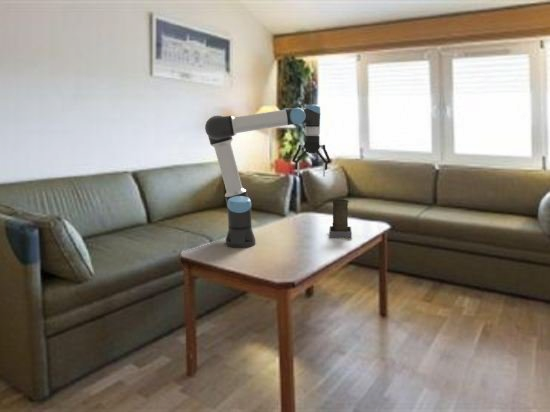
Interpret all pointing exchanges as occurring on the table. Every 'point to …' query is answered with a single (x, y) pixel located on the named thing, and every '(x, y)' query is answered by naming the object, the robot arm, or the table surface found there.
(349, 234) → the tray
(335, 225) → the container
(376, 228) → the table surface
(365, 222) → the table surface
